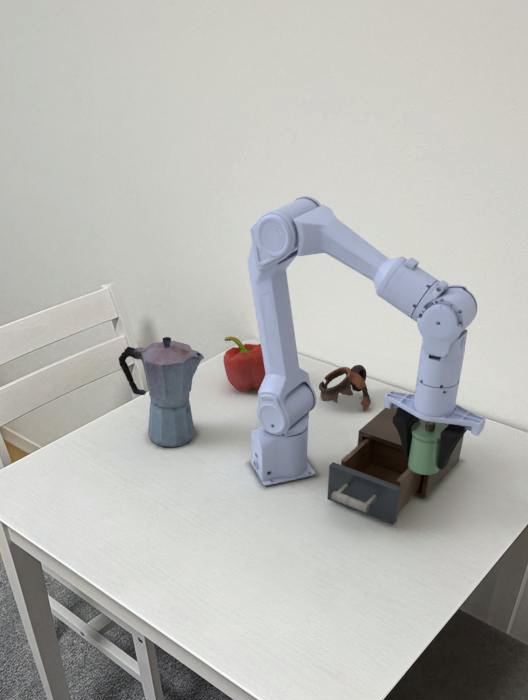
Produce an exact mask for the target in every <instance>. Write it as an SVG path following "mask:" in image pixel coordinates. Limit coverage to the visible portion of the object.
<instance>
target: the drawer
mask: <svg viewBox="0 0 528 700" xmlns="http://www.w3.org/2000/svg"><path fill="white" fill-rule="evenodd" d="M408 460H409V457H408V458H406V457H404V456H403V450H402V449H399V448H396V447H393V446H390V445H387V444H384V443H381V442H378V441H375V440H372V439H369V438H366V439H365V440H363V441H362V442H361V443H360V444H359V445H358V444H357V446H355V447H354V448H353V449H352V450H351V451H350V452H349V453H347V455H346V456H344V457H343V458H342V459H341V460H340V463H339V462H338V463H337V462H335V461H332V462H331V463H329V465H328V482H327V500H328V501H331V502H332V503H336V504H338V505H341V506H343V507H346V508H348V509H350V510H353V511H355V512H357V513H360V514H363V515H366V516H368V517H370V518H372V519H376V520H377V521H380V522H383V523H385V524H387V525H390V526H394V525H395V524H396V523H397V520H398V514H399V513H400V512H401V510H403V508H404V507H405V506H406V505H407V504H408V503H409V502H410V500H412V498H414V496H416V495H415V494H416V493H417V492H418V490H419V489H420V488H421V487H422V485H423V479H424V475H422V474H418V473H415V472H413V471H412V470H411V469H410V468H409V467H408Z"/></svg>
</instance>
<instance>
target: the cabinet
mask: <svg viewBox="0 0 528 700" xmlns="http://www.w3.org/2000/svg"><path fill="white" fill-rule="evenodd" d="M396 412H397V408H393V407H392V408H390V409H388V408H385V407H383V409H382V410H381V411H379V412H378V413H377V415H375V416H374V417H373V418H372V419H371V420H370V421H368V422H367V423H366V424H365V425H364V426H363V427H361V428H360V429H359V430H358V433H357V434H358V435H357V446H358V445H359V444H360V443H361V442H362V441H363V440H365V439H366V438H369V439H372V440H375V441H378V442H381V443H384V444H387V445H390V446H393V447H396V448H399V449H402V444H401V440H400V436H399V434H398V431H397V429H396V427H395V425H394V424H393V416H394V415H395V414H396ZM421 420H422V419H419V421H421ZM442 424H444V425H445V426H446V427H448V424H446V423H442ZM464 437H465V434H464V435H463V436H462V437H461V439H460V440H459V442H458V443H457V445H456V447H455V448H454V450H453V452H452V454H451V456H450V459H449V461H448V464H447V465H446V466H445V467H444V469H443V470H441V469H440V470H439V471H438V472H437V473H435V474H431V475H424V479H423V485H422V487H421V488H420V489H419V490H418V492H417V493H416V494H415V495H414V496H416V497H418V498H422V499H426V498H427V497H428V496H429V495H430V494H431V493H432V491H433V490H434V489H435V488H436V487H437V486H438V485H439V484H440V483H441V481H442V480H443V479H444V478H445V477H446V476H447V475H448V474H449V472H450V471H451V470H452V469H453V468H454V467H455V466H456V465H457V464H458V463H459V461H460V457H461V453H462V447H463V441H464ZM402 450H403V449H402Z"/></svg>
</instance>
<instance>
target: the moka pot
mask: <svg viewBox="0 0 528 700" xmlns="http://www.w3.org/2000/svg"><path fill="white" fill-rule="evenodd" d="M129 357H130V358H133V359H134V360H141V363H142V366H143V370H144V375H145V381H146V385H147V389H148V391H149V392H148V394H149V398H150V402H149V404H150V405H149V416H148V417H149V418H148V429H147V431H148V432H147V434H148V438H149V440H150V441H151V442H152V443H154V444H156V445H159V446H161V447H172V448H173V447H180V446H184V445H187V444H189V443H190V442H191V441H192V440H193V439H194V437H195V435H196V431H195V425H194V419H193V413H192V409H191V407H192V406H191V402H190V392H191V391H192V387H193V386H192V385H193V378H194V376H195V374H196V372H197V370H198V367H199V366H200V364H201V362H202V360H204V359H205V356H204V355H203V353H201V352H199V351H197V350H195V349H192V347H191V345H190V344H188V343H184V342H179V341H176V340H172V337H169V336H164V337H162V340H161V341H160V342H152V343H151V344H149V345H147V346H146V347H132V346H127V347H126V348H125V349H124V351H123V352H121V354H120V355H119V357H118V363H119V366H120V368H121V370H122V373H124V376H125V378H126V381H127V382H128V385H129V387H130V389H131V391H132V393H133V394H134V395H137V396H138V395H139V396H146V393H147V391H146V390H145V389H139V388H138V386H137V384H136V383H135V381H134V377H133V374H132V372H131V370H130V367H129V365H128V363H127V362H126V360H127V359H128V358H129Z"/></svg>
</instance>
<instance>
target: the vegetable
mask: <svg viewBox="0 0 528 700" xmlns="http://www.w3.org/2000/svg"><path fill="white" fill-rule="evenodd" d="M224 341H225V342H231V341H232V342H234V343H235V345H237V346H236V347H235V346H234V347H231V348H229V349H228V350H226V351H225V353H224V355H223V366H224V370H225V374H226V378H227V380H228V382H229V383H230V385H231V386H232V387H233V388H234V389H235V390H237V391H240V392H249V391H251V390H252V389H254V390H259V389H260V386H261V384H262V382H263V380H264V377H265V375H266V373H265V367H264V361H263V355H262V349H261V343H258V344H253V343H245V344H243V343H242V341H241V340H240V339H239V338H237V337H235V336H226V337H225V338H224Z"/></svg>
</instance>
